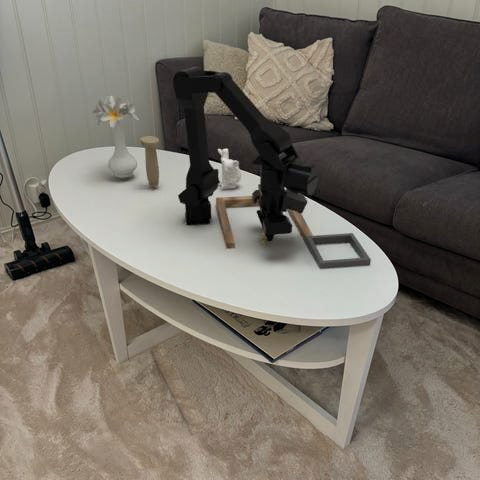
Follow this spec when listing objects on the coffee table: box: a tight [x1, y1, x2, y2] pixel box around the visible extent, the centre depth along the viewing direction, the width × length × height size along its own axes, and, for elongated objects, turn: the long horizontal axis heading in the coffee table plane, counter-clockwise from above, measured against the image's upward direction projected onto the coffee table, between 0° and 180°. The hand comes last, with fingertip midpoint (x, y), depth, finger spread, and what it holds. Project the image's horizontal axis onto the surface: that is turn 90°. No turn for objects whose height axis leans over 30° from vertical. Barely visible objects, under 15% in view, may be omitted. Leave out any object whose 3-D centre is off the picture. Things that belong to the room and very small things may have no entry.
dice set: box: [259, 232, 274, 243], centre depth 121 cm, size 5×5×2 cm
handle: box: [140, 135, 160, 188], centre depth 144 cm, size 5×6×15 cm
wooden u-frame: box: [215, 195, 314, 249], centre depth 127 cm, size 22×25×2 cm
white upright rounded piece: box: [217, 148, 242, 190], centre depth 144 cm, size 8×7×12 cm
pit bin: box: [305, 232, 372, 269], centre depth 113 cm, size 12×12×3 cm
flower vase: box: [92, 95, 140, 179], centre depth 148 cm, size 13×18×25 cm
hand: (269, 240), depth 118 cm, fingers closed
